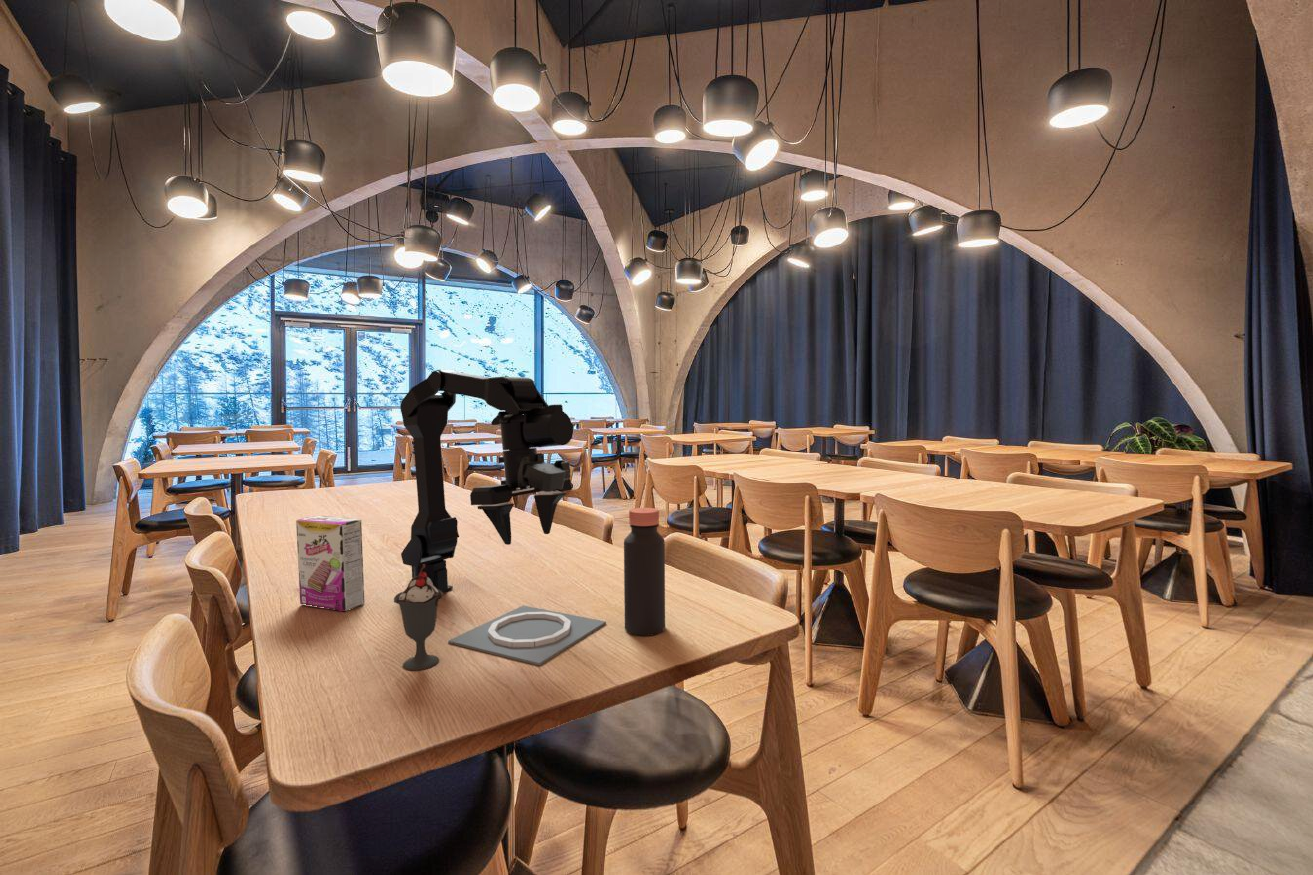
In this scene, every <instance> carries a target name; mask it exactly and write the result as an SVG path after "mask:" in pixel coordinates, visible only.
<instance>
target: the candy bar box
mask: <svg viewBox="0 0 1313 875" xmlns="http://www.w3.org/2000/svg"><path fill="white" fill-rule="evenodd" d="M295 525H296V540H297V541H296V542H297V543H296V544H297V562H298V568H297V569H298V583H299V584H298V586H299V587H298V588H299V605H300V604H306V605H312V606H317V607H324V608H329V609H335V610H334V611H336V610H341V611H340V612H342V611H346V612H348V611H347V610H349V609H352V608H354V607H356V608H358V607H360V605H361V606H363V605H365V583H364V582H365V581H364V563H363V562H364V557H363V533H362V519H359V518H349V517H337V516H327V515H313V516H309V517H308V516H307V517H304V518H299V519H297V520H295ZM357 606H358V607H357ZM329 609H328V610H329ZM354 609H355V608H354ZM352 610H353V609H352ZM349 611H350V610H349Z"/></svg>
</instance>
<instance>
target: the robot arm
mask: <svg viewBox="0 0 1313 875" xmlns="http://www.w3.org/2000/svg"><path fill="white" fill-rule="evenodd" d="M536 387H537V386H536V384H535V381H534V380H533V378H530V377H518V376H495V377H486V376H481V375H475V374H469V373H465V372H458V371H456V370H453V369H436V370H433V371H431V373H429V375H428V376H427V378H426V379H424V380H422V381H421V382H419V383H417V384H416V385H414V386H412V387H411V388H410V389H409V390H408V392H407V394H406V395H405V396H404V398H403V399H402V400H401V402H400V407H399V408H400V412H401V418H402V422H403V426H404V428H405V429H406V431H407V432H408V433H409V434H410V436H411V438H412V440H413V450H414V451H413V454H414V464H415V475H416V476H415V478H416V479H415V480H416V491H417V492H416V493H417V505H418V512H417V514H416V517H415V518H414V521H413V522H412V525H411V527H410V540H408V543H407V544H406V546H405V547H404V549H403V550H402V552H401V553H400V556H401V560H402V564H403V565H406V566H410V567H411V579H412V578H413V576H415V577H416V576H419V573H420V571H421V568H422V567H423V564H425V568H424V569H423V570H422V572H425V573H426V574H427V577H428V578H430V579H431V581H432V583H433V586H435V587H436V589H439V590H440V591H442V592H443V593H445V592H448V591H450V590H453V589H454V588H453V587H454V586H453V585H451V584H450V585H449V584H448V582H449V581H448V568H447V559H453V558H455V552H456V549H457V548H456V547H457V546H458V538H460V535H459V529H458V522H459V521H458V519H457V517H452V516H451V515H450V513H449V512H448V511H447V509H446V508H447V507H446V499H445V498H446V497H445V484H444V483H445V482H444V472H443V469H444V468H443V459H442V458H443V457H442V456H443V455H442V444H441V443H442V441H441V436H442V434H443V433H444V431H445V428H446V427H447V425H448V423H449V422H448V419H449V417H448V416H449V411H451V409H452V408H453V406H455V404H456V402H457V401H456V399H457V395H461V396H467V397H472V398H475V399H476V398H477V399H481V400H483V401H484V402H485V403H486V405H488V406H490V407H492V408H494V409H496V410H498V413H497V415H496V416H494V418H493V419H492V421H491V426H500V435H501V448H502V456H498V464H502V463H503V467H504V468H503V470H504V478H505V480H500V484H494V485H492V484H491V485H484V486H478V487H473V488H472V490H471V491H470V495H469V498H470V505H471V506H477V510H482V511H483V513H484V514H485V515H486V517H487V518H488V519H489V521H490V522H491V523H492V525H493V527H494V528H495V530H496V532H497V533H498V535H499V537H500V538H501V540H502V541H503V544H504V545H506V546H507V545H509V546H510V545H511V544H512V528H511V527H512V526H511V511H512V510H513V507H514V505H515V503H514V502H513V503H512V502H510V501H511V499H512V498H513V497H517V496H523V495H529V494H534V495H533V499H534V504H535V507H536V510H537V514H538V518H539V522H540V526H541V528H542V532H543V534H544V535H548V534H550V533H551V530H552V525H553V520H554V516H555V512H556V509H557V506H558V504H559V502H560V501H561V499H563V498H564V497H565V496H567V494H568V493H567V491H568V492H569V491H572V483H571V482H572V481H571V468H570V467H571V466H570V461H568V460H565V459H558V460H556V461H555V462H554V463H547V462H545V460H544V458H545V457H544V455H543V453H542V452H538V449H537V448H548V447H557V446H558V447H559V446H565V445H567V444H569V443H570V441H572V438H573V435H574V424H573V423H572V421H571V418H570V416H569V415H568V414H567V413H566V412H565V411H564V410H563V409H564V408H563V405H562V404H561V403H560V404H549V405H548V403H547V402H546V400H545V398H544V397H543V396H542V395H541V393H540V391H539V390H538V389H537V388H536ZM440 392H442V393H440ZM535 493H538V494H535Z"/></svg>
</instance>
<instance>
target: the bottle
mask: <svg viewBox="0 0 1313 875" xmlns="http://www.w3.org/2000/svg"><path fill="white" fill-rule="evenodd" d="M628 517H629V518H628V520H629V527H630V528H631V529H630V530H631V531H630V533H628V535H627V536H626V537H625V538H624V540H623V561H624V562H623V580H624V581H623V587H624V589H623V590H624V595H623V596H624V597H623V598H624V600H623V601H624V602H623V604H624V629H625V631H626V632H627V633H629V634H631V635H634V636H638V637H640V636H641V637H649V636H655V635H658V634H660V633H662V632H664V630H665V628H666V575H665V574H666V567H665V566H666V558H665V556H666V555H665V554H666V553H665V552H666V549H665V546H666V544H665V543H666V542H665V541H666V540H665V538H664V537H663V536H662V535H661V534H660V533H659V532H658V527H659V524H660V510H659V509H658V508H654V507H635V508H631V509H629V511H628Z"/></svg>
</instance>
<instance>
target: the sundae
mask: <svg viewBox="0 0 1313 875" xmlns="http://www.w3.org/2000/svg"><path fill="white" fill-rule="evenodd" d="M424 568H425V564H423V567H422V568H421V571H420V573H419V576H416V577H415V576H413V578H412V577H411V579H410V580H409V582H408V584H407V587H406V588H405V589H404V590H403V591H401V592H399V593H397V594H396V595H395V596H394V598H393V602H394V603H395V604H398V606H399V609H400V612H401V618H402V625H403V629H404V632H405V635H406V636H408V638H410V639H411V640H413V641H414V642H415V648H416V649H415V655H414V656H412V657H410V658H408V659H407V660H405V661H404V662H403V664H402V667H403V669H405V670H407V671H423V670H427V669H430V668H432V667H434V666H436V665H437V664H438V663H439V662H440V659H439V656H436V655H434V654H428V653H427V650H426V640H427V638H429V637H430V636H431V635H432V633H433V632H434V631H435V627H436V623H437V613H438V606H439V600H440V599H442V596H443V595H444V592H442V591H440V590H439V589H436V587H435V586H433V583H432V581H431V579H430V578H428V577H427V574H426V573H425V572H422V570H423V569H424Z"/></svg>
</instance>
